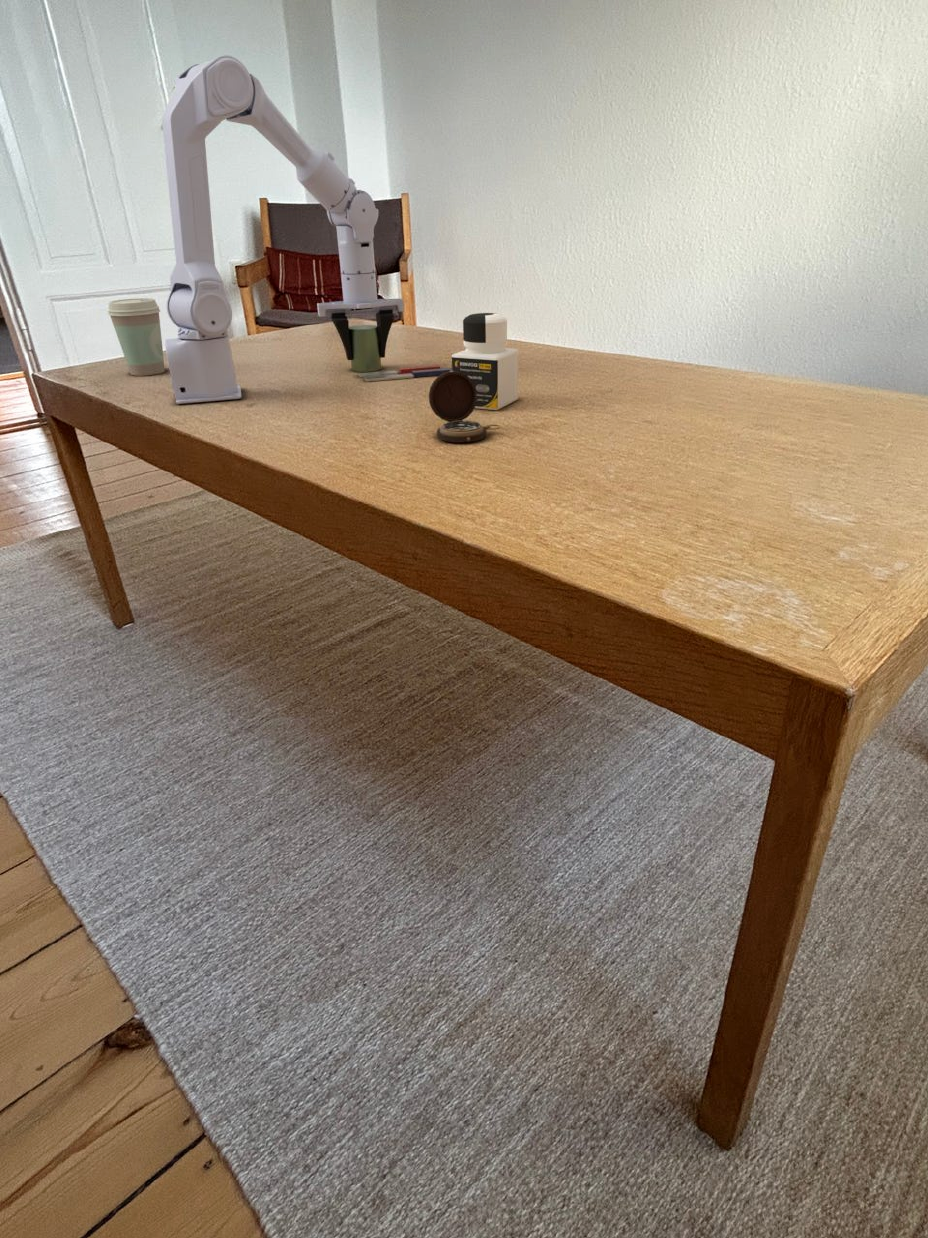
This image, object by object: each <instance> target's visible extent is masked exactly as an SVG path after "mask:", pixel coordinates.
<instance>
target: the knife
mask: <svg viewBox="0 0 928 1238" xmlns="http://www.w3.org/2000/svg"><path fill="white" fill-rule="evenodd" d="M450 370H452V367H446V368H445V367H443V368H442V367H441V368H440V369H430V370H418V371H412V373H409V374H400V373H398V374H397V375H385V376H373V377H364V380H365V382H366V383H368V382H378V381H379V382H381V381H392V380H403V379H414V378H425V377H438V376H440V375H441V374H443V373H445V372H450Z"/></svg>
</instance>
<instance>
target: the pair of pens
mask: <svg viewBox="0 0 928 1238" xmlns="http://www.w3.org/2000/svg"><path fill="white" fill-rule="evenodd" d="M430 369H441V366H440V365H439V364H431V365H430V364H429V365H419V366H417V365H416V366H406V367H398V371H397V370H395V369H394V370H385V371H372V372H358V373H357V375H358V377H359V379H361V378H364V377H373V376H385V375H397V374H409V373H412V371H418V370H430ZM364 379H365V378H364Z"/></svg>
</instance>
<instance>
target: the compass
mask: <svg viewBox="0 0 928 1238" xmlns="http://www.w3.org/2000/svg"><path fill="white" fill-rule="evenodd" d="M476 394H477V390H476V387H475V384H474V383H473V382H472V380H471V379H470V378H469V377H468V376H467V375H465V374H463V373H460V372H456V371H453V370H450V372H445V373H443V374H441V375H438V376H436V378H435V379H434V380H433V382H432V383H431V385H430V387H429V392H428V403H429V405H430V408H431V410H432V412H433V413H434V414H435V416H437V417H438V418H439V419H441V420H443V421H446V422H445V423H443V424H442V425H441V426H440V427H438V428H437V430H436V436H437V438H438V439H440V440H442V441H443V442H448V443H460V444H461V443H473V442H477V441H480V440H482V439H484V438H485V437H486V436H487V431H488V430H498V429H501V426H500V425H499V424H487V425H483V424H481V423H480V422H478V421H474V420H465V419H467V418H468V417H470V415H471V414H472V413H473V412H474V410H475V409H476V408H475V406H476V402H477V395H476Z"/></svg>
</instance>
